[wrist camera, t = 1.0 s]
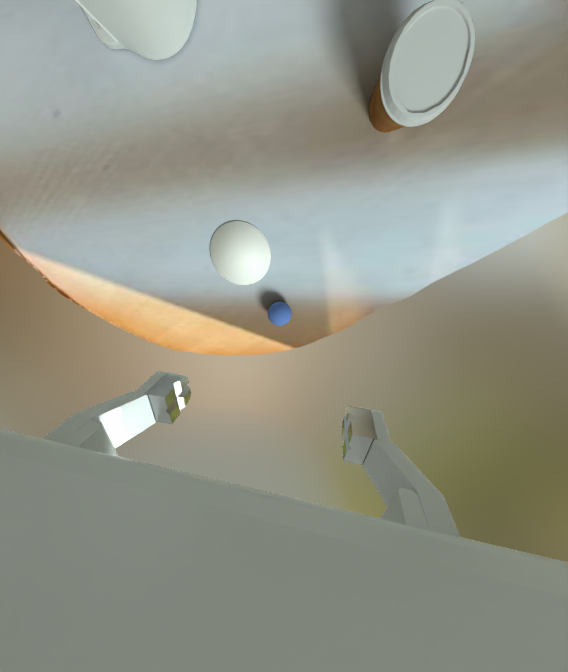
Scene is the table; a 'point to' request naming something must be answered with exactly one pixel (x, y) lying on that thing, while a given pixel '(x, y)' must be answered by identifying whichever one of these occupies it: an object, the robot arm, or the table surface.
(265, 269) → the disc
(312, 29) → the table surface
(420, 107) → the disposable coffee cup
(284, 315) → the ball
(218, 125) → the table surface
